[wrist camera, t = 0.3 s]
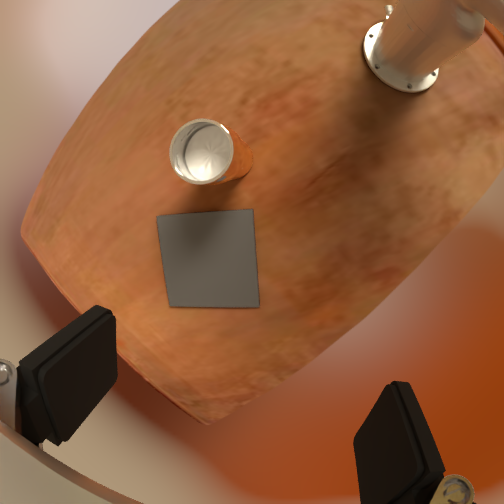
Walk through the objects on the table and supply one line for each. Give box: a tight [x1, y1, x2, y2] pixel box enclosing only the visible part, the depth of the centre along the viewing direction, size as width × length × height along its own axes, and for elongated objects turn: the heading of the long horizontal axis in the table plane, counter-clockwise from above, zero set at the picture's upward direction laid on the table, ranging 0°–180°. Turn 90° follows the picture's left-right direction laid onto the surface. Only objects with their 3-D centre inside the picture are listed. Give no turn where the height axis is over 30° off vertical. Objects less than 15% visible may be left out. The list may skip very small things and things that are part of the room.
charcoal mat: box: [157, 209, 260, 307], centre depth 45 cm, size 15×15×1 cm
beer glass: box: [169, 119, 253, 185], centre depth 34 cm, size 7×7×15 cm
